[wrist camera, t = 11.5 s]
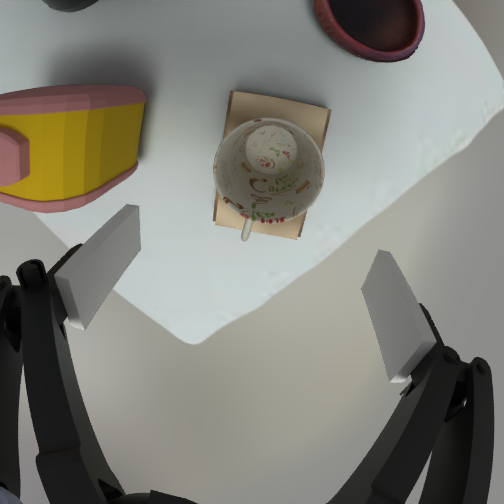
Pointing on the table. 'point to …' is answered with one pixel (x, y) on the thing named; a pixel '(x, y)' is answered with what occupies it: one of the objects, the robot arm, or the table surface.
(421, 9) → the bowl
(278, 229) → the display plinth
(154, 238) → the table surface
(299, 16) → the table surface
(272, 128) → the mug
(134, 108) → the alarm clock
